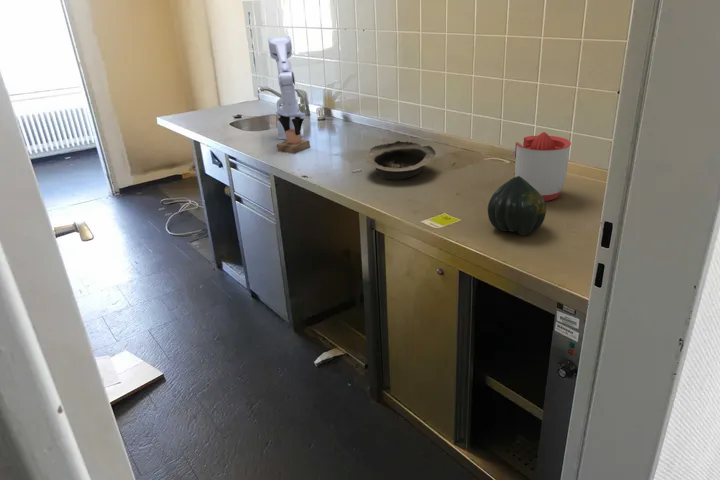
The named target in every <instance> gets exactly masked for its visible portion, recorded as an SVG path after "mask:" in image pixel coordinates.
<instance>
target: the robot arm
mask: <svg viewBox="0 0 720 480" xmlns="http://www.w3.org/2000/svg"><path fill="white" fill-rule="evenodd" d="M267 42H268V50H269V55H270V58H271V59H273V60H275V62H276V67H277V72H278V74H277V80H278V87H279V90H280V92H281V93H280V94H281V97H280V98H279V99H278V100H277V101H276V111H275V114H276V117H277V119H278V120H277V122H276V129H277V137H276V138H277V139H280V140H285V141H286V140H287V139H286V132H285V131H287V130H290V129H292V128H293V129H295V134H296V135H299V134H300V131H302V130H301V129H302V126H303V125H302V124H303V123H304V120H305V119H306V113H305V112H301V111H300V107H299V101H298V100H297V99H296V89H295V86H296V78H295V73H294V71H293V69H292V64H291V61H290V60H289V59H290V57H292V54H293V53H292V52H293V46H292V45H293V44H292V38H291V36H289V35H288V36H280V37H279V36H278V37H269V38H268V39H267ZM303 137H304V135H303V134H301V138H303Z"/></svg>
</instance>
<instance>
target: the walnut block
mask: <svg viewBox="0 0 720 480" xmlns="http://www.w3.org/2000/svg"><path fill="white" fill-rule="evenodd" d="M301 140H302V141H301V142H298V143H296V144H292V143H287V140H285V141H284V140H283V141H282V142H280V143H279V142H278V143H277V144H276V149H277V151H278V152H280V151H282V153H287V152H288V154H294V155H296V154H298V153H300V152H303V151H305V150H308V149H309V148H310V149H311V142H310V141H311V140H309V139H301Z"/></svg>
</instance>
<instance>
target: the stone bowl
mask: <svg viewBox="0 0 720 480" xmlns="http://www.w3.org/2000/svg"><path fill="white" fill-rule="evenodd" d="M435 156H436V150H435V149H434V148H433V146H431V145H424V146H423V145H420V144H419V143H416V142H411V141H409V140H408V141H401V140H396V141H395V142H392V143H387V144H386V143H383V144H380V145H374V146H372V147H371V148H370V150H369V151H368V154H367V155H365V159H366V164H368V165H369V167H371V168H374V169H375V171H376V172H377V174H378V175H379V176H380V177H382V178H383V179H385V180H393V181H402V180H404V179H408V178H410V177H413V176H415V175H417V174H419V173H420V172H421V171H423V170H424V168H425V167H426V166H427V165H428V164H429V163H430V162H432V161H433V159H434V158H435Z"/></svg>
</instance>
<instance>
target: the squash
mask: <svg viewBox="0 0 720 480" xmlns="http://www.w3.org/2000/svg"><path fill="white" fill-rule="evenodd" d="M546 214H547V205H546V201H544V199H543V197H542V196H541V195H540V193H539V192H538V191H537V190H536V189H535V188H533V187H532V186H531V185H530V184H529V183H528V182H527V181H525V180H524V179H523V178H521V177H520V176H517V177H515V176H514V177H512V178H511V179H509V180H508V181H506V182H505V183H504V184H502V185H501V186H499V187H498V188H497V189H496V190H495V192H494V193H493V194H492V196H491V197H490V199H489V201H488V205H487V215H488V219H489V222H490V224H491V226H493V227H494V228H495V229H496V230H499V231H503V232H509V231H510V232H516V233H517V234H519V235H520V236H527V235H529V234H530V233H532V232H535V231H537V230H538V229H539V228H540V227H541V226H542V225H543V223H544V221H545V219H546Z"/></svg>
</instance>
